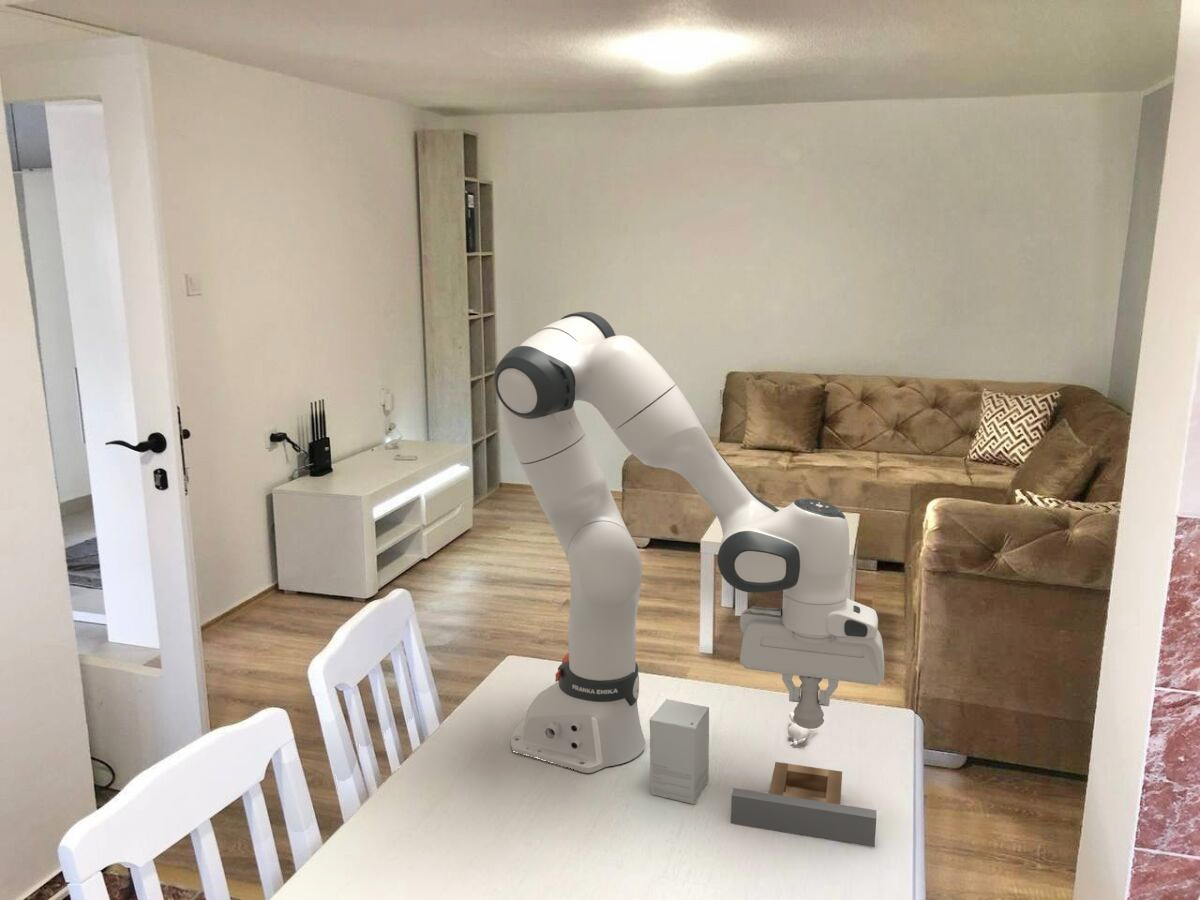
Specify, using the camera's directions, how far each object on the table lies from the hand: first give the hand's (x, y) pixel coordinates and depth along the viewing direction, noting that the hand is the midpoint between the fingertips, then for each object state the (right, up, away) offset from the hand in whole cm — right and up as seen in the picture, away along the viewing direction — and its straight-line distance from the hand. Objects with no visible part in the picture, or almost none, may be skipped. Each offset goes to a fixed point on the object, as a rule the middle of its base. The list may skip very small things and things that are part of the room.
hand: (809, 702), depth 135 cm
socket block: (0, -17, +3) cm, 17 cm away
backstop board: (-2, -18, -2) cm, 18 cm away
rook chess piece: (0, -3, +1) cm, 3 cm away
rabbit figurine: (+4, -12, +24) cm, 27 cm away
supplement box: (-18, -16, +9) cm, 25 cm away
